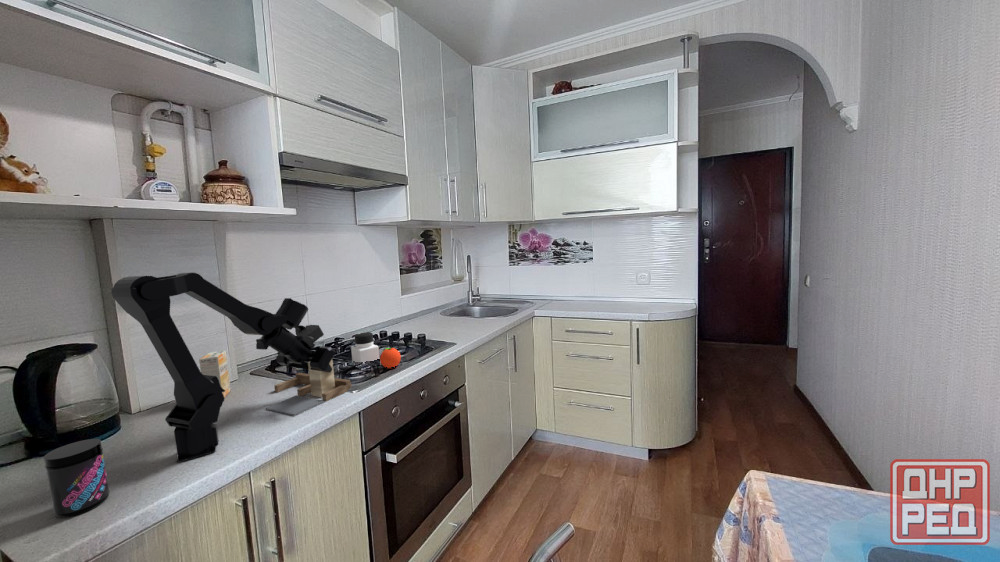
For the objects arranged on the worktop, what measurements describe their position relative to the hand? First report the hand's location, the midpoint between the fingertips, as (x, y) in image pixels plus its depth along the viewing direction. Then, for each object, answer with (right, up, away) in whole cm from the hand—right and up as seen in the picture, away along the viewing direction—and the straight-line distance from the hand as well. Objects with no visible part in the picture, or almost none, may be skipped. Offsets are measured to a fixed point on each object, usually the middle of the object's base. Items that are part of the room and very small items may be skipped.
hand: (325, 370), depth 115 cm
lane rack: (-5, -7, +2) cm, 9 cm away
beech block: (0, -7, -1) cm, 7 cm away
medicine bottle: (+4, -4, +24) cm, 24 cm away
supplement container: (-21, -13, -47) cm, 53 cm away
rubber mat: (-4, -8, -9) cm, 12 cm away
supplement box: (-33, -9, +2) cm, 34 cm away
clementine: (+13, -4, +20) cm, 25 cm away
